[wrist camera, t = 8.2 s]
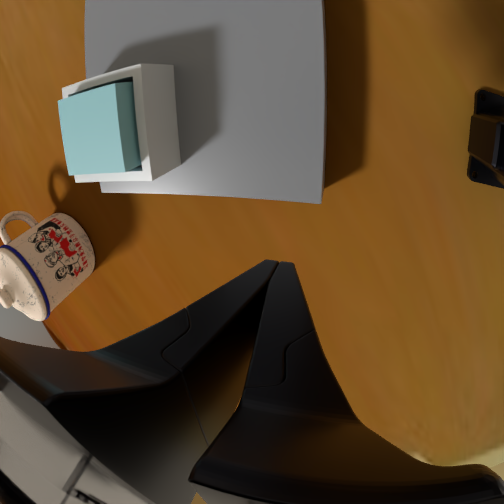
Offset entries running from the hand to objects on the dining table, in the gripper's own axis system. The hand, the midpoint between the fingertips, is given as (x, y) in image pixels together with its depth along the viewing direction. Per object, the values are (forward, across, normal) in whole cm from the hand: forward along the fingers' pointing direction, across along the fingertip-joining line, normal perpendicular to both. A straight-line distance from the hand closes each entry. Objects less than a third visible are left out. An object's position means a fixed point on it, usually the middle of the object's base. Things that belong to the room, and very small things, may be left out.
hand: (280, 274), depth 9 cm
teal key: (+8, +12, -4) cm, 15 cm away
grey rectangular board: (+13, +8, -10) cm, 18 cm away
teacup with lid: (+13, +28, +8) cm, 32 cm away
